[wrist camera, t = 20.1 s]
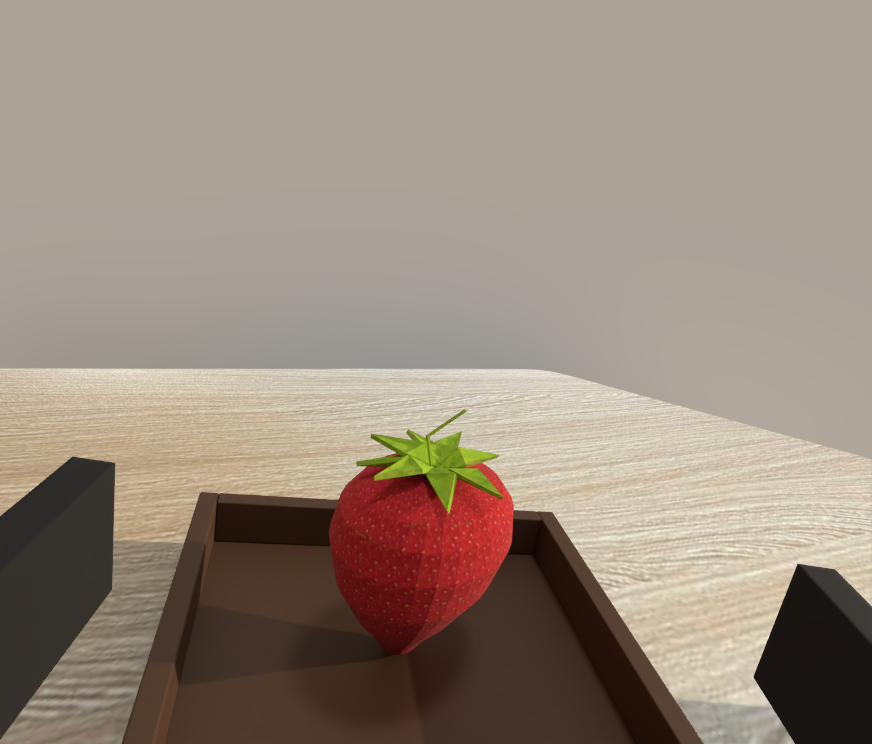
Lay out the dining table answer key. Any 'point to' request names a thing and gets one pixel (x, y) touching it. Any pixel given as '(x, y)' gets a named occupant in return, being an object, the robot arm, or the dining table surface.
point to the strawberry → (419, 537)
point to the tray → (375, 668)
